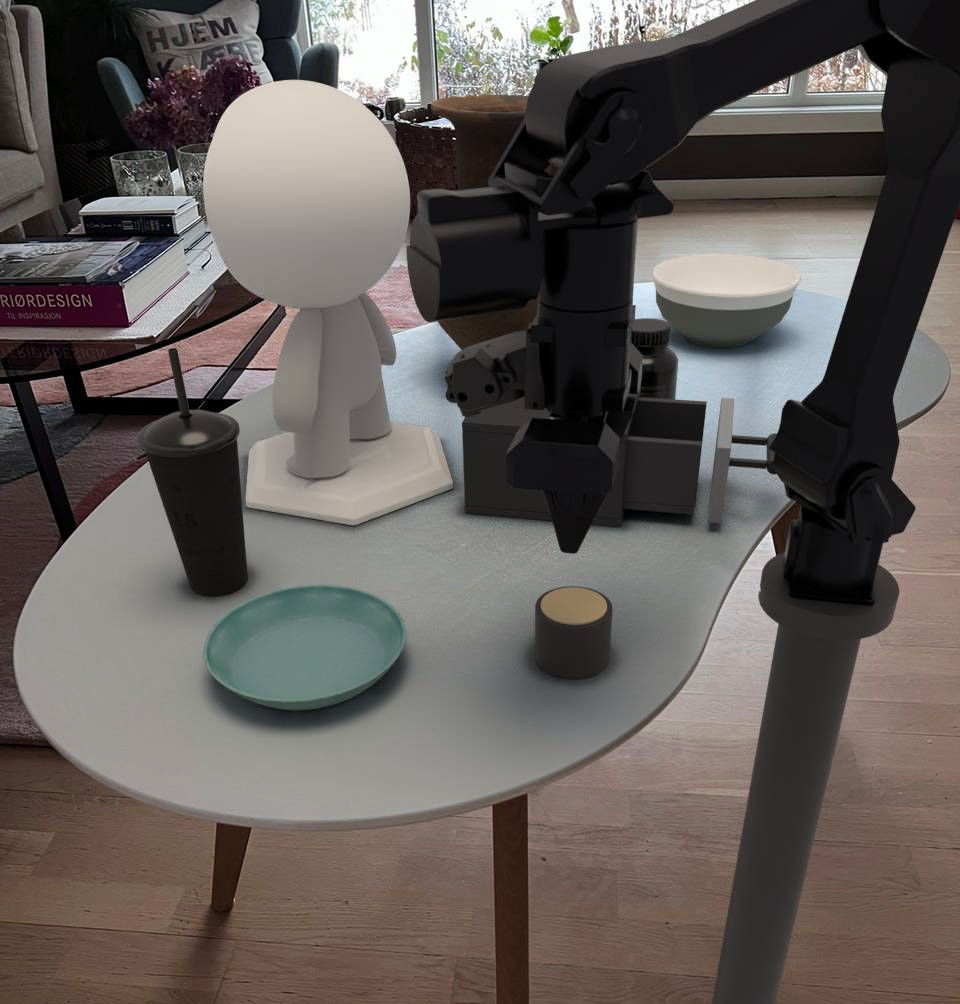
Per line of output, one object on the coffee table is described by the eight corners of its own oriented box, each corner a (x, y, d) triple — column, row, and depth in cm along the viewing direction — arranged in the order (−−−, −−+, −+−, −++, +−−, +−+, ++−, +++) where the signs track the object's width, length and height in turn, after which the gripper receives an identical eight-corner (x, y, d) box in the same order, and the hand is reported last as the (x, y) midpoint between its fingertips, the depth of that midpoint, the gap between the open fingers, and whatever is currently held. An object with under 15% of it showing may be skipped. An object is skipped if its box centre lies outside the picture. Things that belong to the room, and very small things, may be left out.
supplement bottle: (679, 429, 110) (690, 318, 103) (661, 454, 105) (671, 339, 98) (619, 420, 113) (625, 311, 106) (598, 444, 108) (603, 331, 101)
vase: (615, 381, 122) (631, 100, 105) (482, 420, 113) (475, 121, 96) (520, 339, 135) (520, 84, 118) (395, 371, 127) (375, 101, 109)
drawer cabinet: (635, 467, 103) (641, 380, 98) (620, 527, 93) (626, 433, 88) (493, 457, 106) (492, 371, 100) (464, 513, 96) (461, 422, 90)
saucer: (188, 731, 70) (181, 701, 69) (230, 613, 82) (225, 585, 81) (402, 727, 70) (399, 697, 69) (413, 609, 82) (411, 581, 81)
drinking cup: (186, 558, 90) (137, 333, 78) (272, 558, 90) (235, 332, 78) (161, 605, 84) (104, 368, 72) (253, 605, 83) (211, 367, 72)
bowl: (632, 318, 142) (636, 256, 137) (763, 310, 143) (771, 249, 138) (667, 365, 126) (673, 298, 122) (813, 356, 128) (825, 289, 123)
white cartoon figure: (297, 421, 114) (250, 65, 94) (489, 448, 107) (481, 69, 87) (195, 499, 99) (113, 94, 79) (410, 536, 92) (380, 101, 72)
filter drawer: (774, 472, 99) (786, 401, 95) (775, 528, 90) (788, 452, 86) (588, 458, 103) (591, 389, 98) (571, 511, 94) (573, 436, 89)
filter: (613, 639, 78) (617, 588, 76) (604, 683, 74) (607, 630, 71) (541, 631, 79) (542, 580, 77) (528, 674, 75) (528, 621, 72)
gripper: (488, 252, 70) (491, 461, 79) (413, 342, 55) (428, 586, 64) (650, 258, 68) (635, 472, 77) (618, 353, 53) (604, 604, 62)
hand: (576, 527), depth 70 cm, fingers open, 7 cm apart
